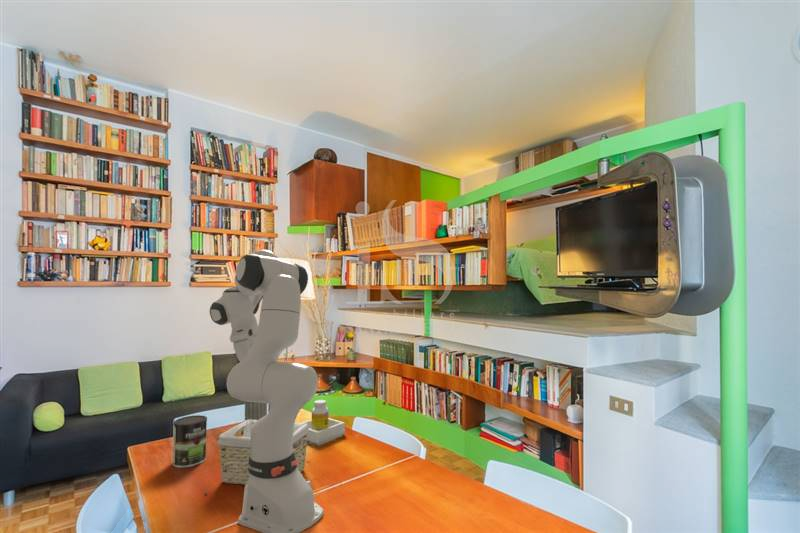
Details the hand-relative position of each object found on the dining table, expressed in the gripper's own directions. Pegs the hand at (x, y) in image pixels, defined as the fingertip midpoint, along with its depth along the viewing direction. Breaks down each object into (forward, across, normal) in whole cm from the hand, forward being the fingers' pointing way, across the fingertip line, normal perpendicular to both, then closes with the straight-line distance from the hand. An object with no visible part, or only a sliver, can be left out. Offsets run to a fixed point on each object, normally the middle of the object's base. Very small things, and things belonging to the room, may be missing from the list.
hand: (256, 365), depth 145 cm
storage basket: (+30, +24, +1) cm, 38 cm away
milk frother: (+31, -15, -15) cm, 38 cm away
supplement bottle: (+36, -7, +14) cm, 39 cm away
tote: (+37, -7, +13) cm, 40 cm away
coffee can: (+24, +11, -27) cm, 38 cm away
